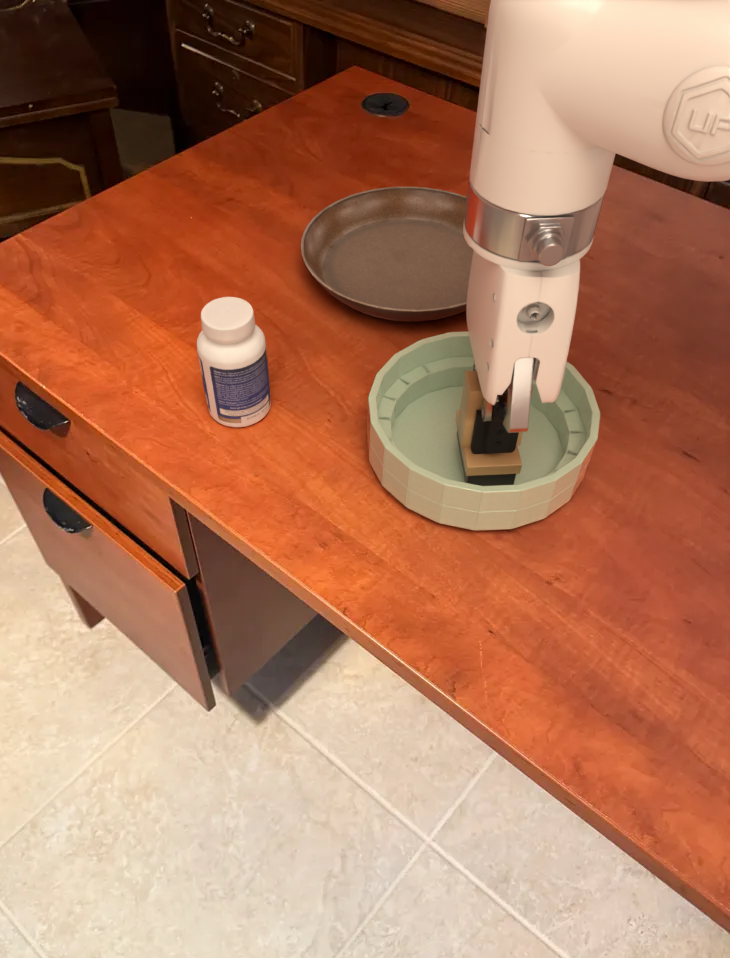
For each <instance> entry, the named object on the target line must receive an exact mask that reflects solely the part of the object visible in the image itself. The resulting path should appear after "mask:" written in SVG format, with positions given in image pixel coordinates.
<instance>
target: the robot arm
mask: <svg viewBox="0 0 730 958" xmlns="http://www.w3.org/2000/svg"><path fill="white" fill-rule="evenodd" d="M487 15H488V16H487V25H486V32H485V41H484V42H485V43H484V50H483V59H482V66H481V75H480V84H479V93H478V99H477V108H476V117H475V125H474V133H473V142H472V151H471V157H470V158H471V160H470V161H471V162H470V167H469V168H470V169H469V176H468V185H467V192H466V193H467V194H466V197H467V201H466V210H465V218H464V225H463V234H464V238H465V240H466V242H467V243H468V245H469V246H470V247H471V248H472V249H473V250H474V251H473V257H472V263H471V270H470V277H469V284H468V293H467V306H466V310H465V313H466V314H465V315H466V325H467V331H468V332H469V337H470V342H471V347H472V352H473V356H474V362H473V371H476V370H477V374H478V379H479V383H480V387H481V391H482V394H483V403H482V410H477V411H476V417H475V424H474V430H473V436H472V442H471V450H472V453H473V454H493V453H511V452H513V451H514V450H515V448H516V444H517V439H518V435H519V432H527V431H528V424H529V413H530V401H531V389H532V380H535V382H536V385H537V388H538V392H539V395H540V398H541V402H542V403H553V402H554V401H555V400H556V399H557V397H558V396H559V393H560V389H561V385H562V380H563V376H564V371H565V366H566V361H567V362H568V357H569V351H570V346H571V341H572V336H573V332H574V325H575V319H576V315H577V305H578V298H579V290H580V280H581V279H580V278H581V259H582V258H584V257H585V256H586V255H587V253H588V252H589V251H590V249H591V248H592V246H593V242H594V238H595V234H596V230H597V226H598V222H599V220H600V219H599V218H600V216H601V212H602V207H603V203H604V200H605V196H606V192H607V191H606V190H607V189H608V185H609V180H610V177H611V174H612V170H613V166H614V162H615V157H616V154H617V155H619V156H621V157H623V158H626V159H629V160H631V161H634V162H636V163H638V164H641V165H644V166H645V167H649V168H651V169H654V170H656V171H659V172H662V173H664V174H666V175H667V174H668V175H670V176H674V177H677V178H680V179H684V180H690V181H696V182H705V183H706V182H709V183H712V182H725V181H726V182H727V181H730V0H490V1H489V9H488V14H487ZM500 395H508V396H507V402H506V403H496V402H499V398H498V396H500Z"/></svg>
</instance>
